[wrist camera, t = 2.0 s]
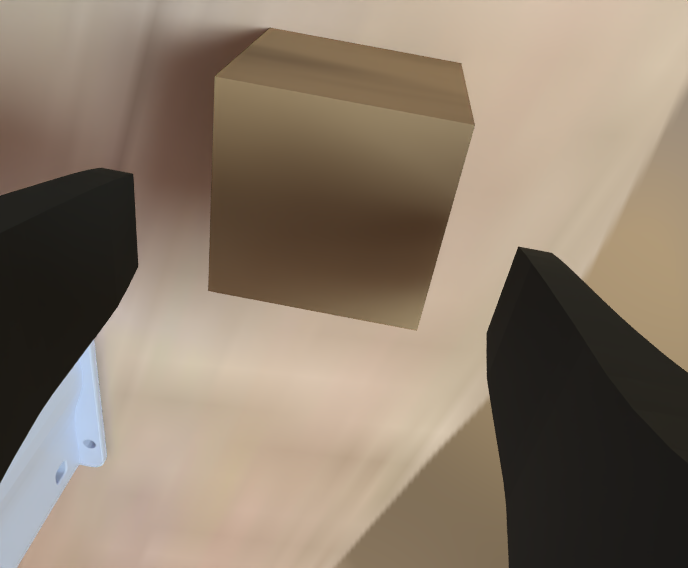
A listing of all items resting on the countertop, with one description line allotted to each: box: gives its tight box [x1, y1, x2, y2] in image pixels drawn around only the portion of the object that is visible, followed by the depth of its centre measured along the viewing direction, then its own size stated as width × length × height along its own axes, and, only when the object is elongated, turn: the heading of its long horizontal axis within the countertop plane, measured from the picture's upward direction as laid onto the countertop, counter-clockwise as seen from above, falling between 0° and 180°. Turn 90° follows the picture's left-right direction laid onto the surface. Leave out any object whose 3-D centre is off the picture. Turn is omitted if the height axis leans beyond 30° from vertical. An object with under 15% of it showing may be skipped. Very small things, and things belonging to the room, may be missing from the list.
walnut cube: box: [208, 28, 475, 331], centre depth 15 cm, size 5×5×5 cm
